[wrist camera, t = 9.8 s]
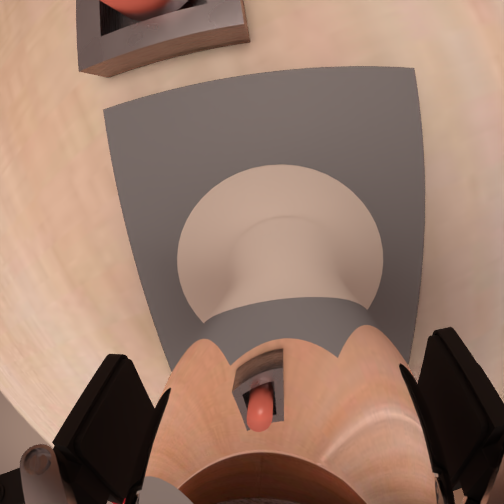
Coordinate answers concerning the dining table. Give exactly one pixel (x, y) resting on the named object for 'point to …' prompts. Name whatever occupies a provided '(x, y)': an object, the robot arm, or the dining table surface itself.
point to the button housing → (153, 34)
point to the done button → (144, 7)
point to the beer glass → (290, 393)
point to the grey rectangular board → (273, 185)
